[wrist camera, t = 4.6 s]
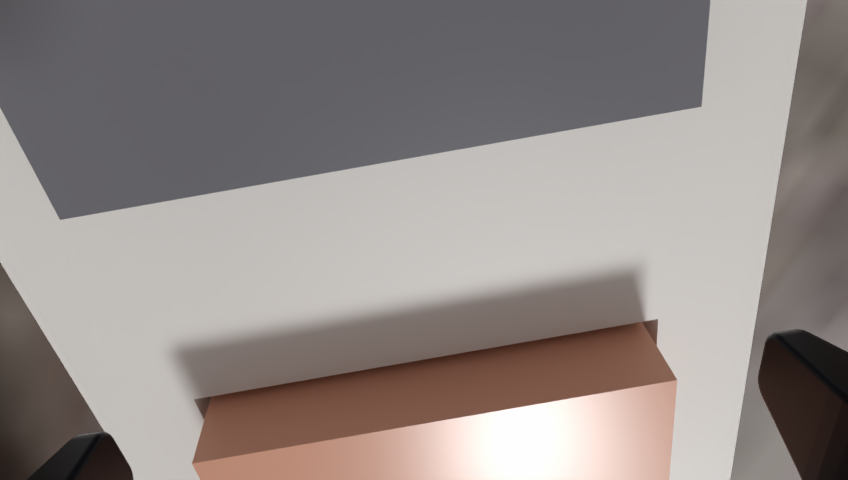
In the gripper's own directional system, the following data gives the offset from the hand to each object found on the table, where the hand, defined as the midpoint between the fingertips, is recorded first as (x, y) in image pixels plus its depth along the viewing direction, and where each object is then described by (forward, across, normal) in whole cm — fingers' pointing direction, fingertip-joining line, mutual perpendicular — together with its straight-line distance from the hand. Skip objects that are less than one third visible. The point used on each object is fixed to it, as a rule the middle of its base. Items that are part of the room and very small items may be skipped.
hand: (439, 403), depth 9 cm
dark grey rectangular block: (+9, +1, -4) cm, 9 cm away
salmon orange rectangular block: (+8, 0, +8) cm, 12 cm away
